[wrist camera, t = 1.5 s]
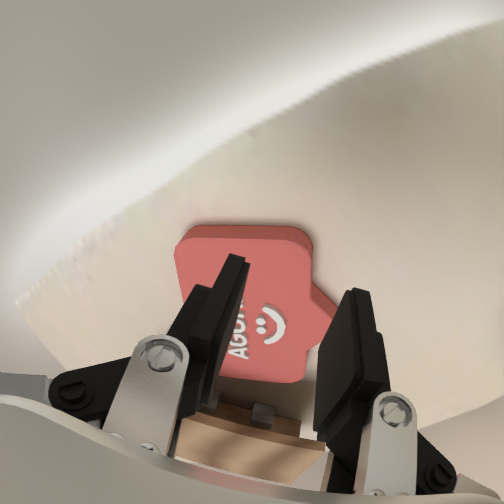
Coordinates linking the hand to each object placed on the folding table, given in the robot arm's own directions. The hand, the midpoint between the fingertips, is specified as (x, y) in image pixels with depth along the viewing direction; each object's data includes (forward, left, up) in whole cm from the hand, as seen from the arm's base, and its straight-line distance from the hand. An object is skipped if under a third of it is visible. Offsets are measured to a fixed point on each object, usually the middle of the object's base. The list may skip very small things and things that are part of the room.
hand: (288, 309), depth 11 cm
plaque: (0, +14, -18) cm, 23 cm away
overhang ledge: (0, +29, -17) cm, 34 cm away
